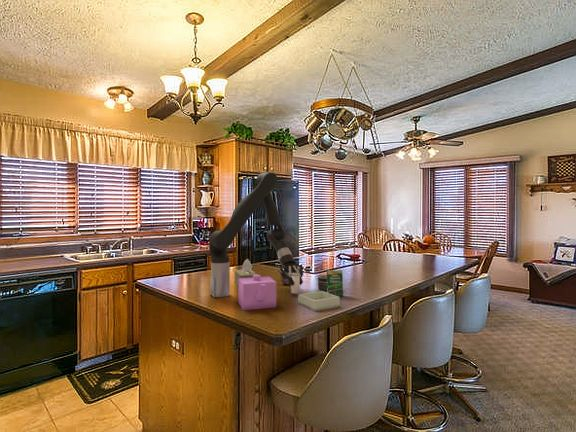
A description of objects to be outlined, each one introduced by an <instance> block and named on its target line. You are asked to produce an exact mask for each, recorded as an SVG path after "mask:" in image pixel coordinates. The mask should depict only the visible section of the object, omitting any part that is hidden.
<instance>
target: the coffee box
mask: <svg viewBox="0 0 576 432" xmlns="http://www.w3.org/2000/svg"><path fill="white" fill-rule="evenodd" d="M326 275H327V292H326V293H329V294H332V295H335V296H338V297H340V298H341V297H344V287H343V286H344V285H343V282H344V281H343V277H344V276H343V270H341V269H339V270H326Z"/></svg>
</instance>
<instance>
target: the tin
mask: <svg viewBox="0 0 576 432" xmlns="http://www.w3.org/2000/svg"><path fill="white" fill-rule="evenodd" d="M285 273H286V272H285ZM286 274H287V273H286ZM280 281H281V284H283V285H290V283H289V280H288V279H284V278H283V276H282V275H281V274H280Z"/></svg>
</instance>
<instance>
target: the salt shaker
mask: <svg viewBox="0 0 576 432" xmlns="http://www.w3.org/2000/svg"><path fill="white" fill-rule="evenodd" d="M291 278H292V279H293V281H294V285H293V286H291V285H290V293H291V294H294V295H295V294H301V290H300V286H301V285H300V273H297V272H294V273H291Z"/></svg>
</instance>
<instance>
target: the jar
mask: <svg viewBox="0 0 576 432" xmlns="http://www.w3.org/2000/svg"><path fill="white" fill-rule="evenodd" d="M317 287H318V292H319V291H324V292H326V293H327V274H322V275H319V276H318V277H317Z"/></svg>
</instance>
